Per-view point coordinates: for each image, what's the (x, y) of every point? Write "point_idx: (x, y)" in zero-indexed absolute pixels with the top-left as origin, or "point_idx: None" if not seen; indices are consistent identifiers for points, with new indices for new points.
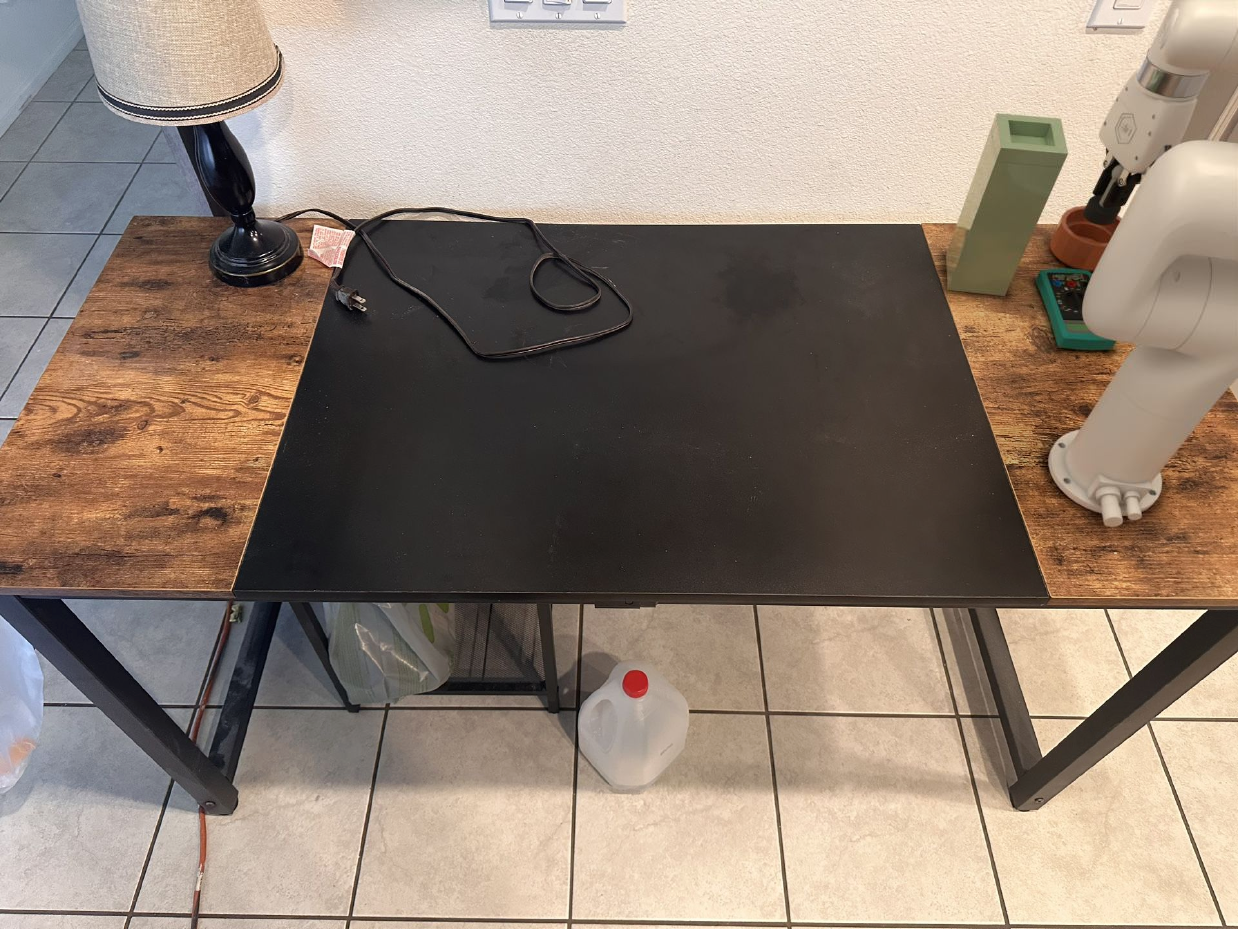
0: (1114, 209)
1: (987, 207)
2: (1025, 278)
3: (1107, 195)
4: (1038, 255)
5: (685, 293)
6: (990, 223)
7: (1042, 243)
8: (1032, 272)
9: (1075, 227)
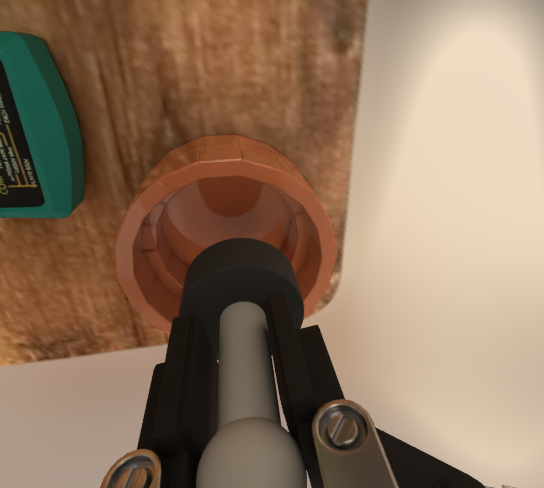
0: (213, 342)
1: None
2: (63, 8)
3: (183, 354)
4: (204, 93)
5: None
6: None
7: (265, 121)
8: (107, 47)
9: (293, 218)
